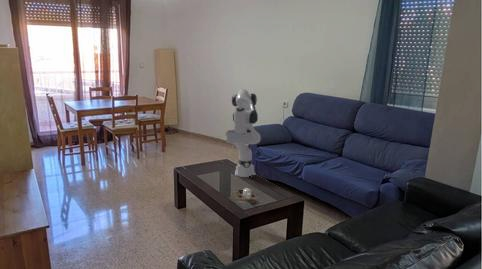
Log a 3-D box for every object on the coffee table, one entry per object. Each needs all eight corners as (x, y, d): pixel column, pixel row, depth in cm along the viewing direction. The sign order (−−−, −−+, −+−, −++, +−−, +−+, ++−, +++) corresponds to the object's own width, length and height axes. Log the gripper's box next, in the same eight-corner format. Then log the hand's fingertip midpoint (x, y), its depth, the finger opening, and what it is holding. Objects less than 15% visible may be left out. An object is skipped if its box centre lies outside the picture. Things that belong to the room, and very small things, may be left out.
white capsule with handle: (242, 197, 248) (242, 188, 246) (249, 196, 249) (250, 187, 247) (244, 203, 238) (244, 193, 236) (252, 202, 239) (253, 193, 237)
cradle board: (232, 192, 258) (232, 188, 258) (253, 191, 261) (253, 187, 261) (237, 204, 237) (237, 200, 237) (259, 203, 240) (259, 199, 239)
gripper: (226, 131, 242) (226, 149, 246) (254, 130, 246) (254, 148, 249) (225, 129, 248) (225, 147, 252) (252, 128, 252) (252, 146, 255)
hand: (239, 147), depth 250 cm, fingers open, 8 cm apart
